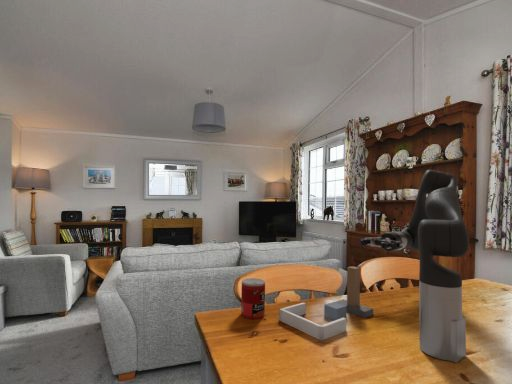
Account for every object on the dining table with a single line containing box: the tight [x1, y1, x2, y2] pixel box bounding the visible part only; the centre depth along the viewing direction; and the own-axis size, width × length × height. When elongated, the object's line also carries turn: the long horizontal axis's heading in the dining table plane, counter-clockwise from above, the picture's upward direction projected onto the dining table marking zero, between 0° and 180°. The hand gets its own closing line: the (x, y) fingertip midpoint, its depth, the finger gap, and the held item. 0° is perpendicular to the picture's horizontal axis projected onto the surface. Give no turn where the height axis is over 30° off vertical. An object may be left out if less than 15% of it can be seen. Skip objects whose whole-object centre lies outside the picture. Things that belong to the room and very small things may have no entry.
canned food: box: [240, 277, 266, 320], centre depth 97 cm, size 8×8×11 cm
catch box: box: [278, 302, 347, 342], centre depth 89 cm, size 17×11×4 cm, turn 37°
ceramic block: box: [323, 301, 347, 321], centre depth 96 cm, size 5×5×4 cm
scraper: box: [335, 266, 374, 319], centre depth 103 cm, size 12×5×15 cm, turn 37°
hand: (371, 244), depth 110 cm, fingers open, 8 cm apart
